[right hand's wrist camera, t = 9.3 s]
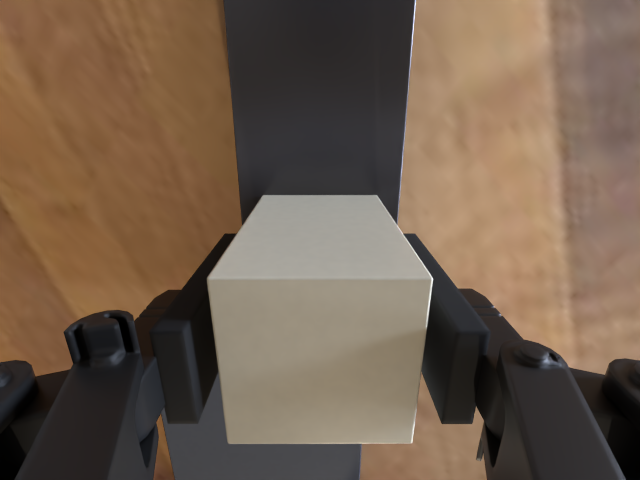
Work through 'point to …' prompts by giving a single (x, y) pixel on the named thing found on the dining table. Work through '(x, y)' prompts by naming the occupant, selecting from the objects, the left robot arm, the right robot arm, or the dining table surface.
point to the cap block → (319, 323)
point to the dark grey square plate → (251, 453)
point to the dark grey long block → (319, 96)
